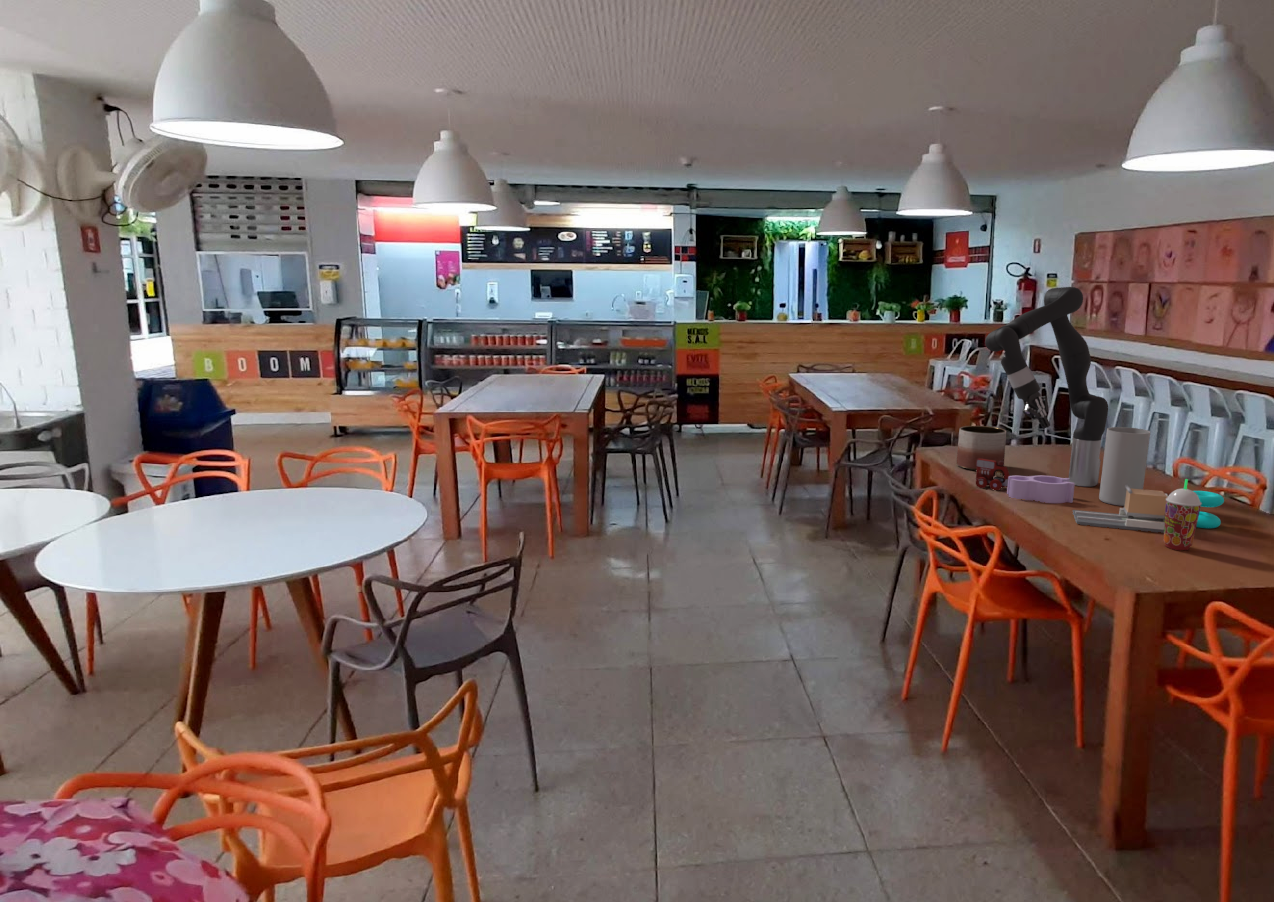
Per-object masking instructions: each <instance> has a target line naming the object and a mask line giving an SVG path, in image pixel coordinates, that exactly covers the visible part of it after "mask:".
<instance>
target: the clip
mask: <svg viewBox="0 0 1274 902" xmlns="http://www.w3.org/2000/svg"><path fill="white" fill-rule="evenodd" d="M1069 481H1070V479H1069V477H1065V478H1064V477H1059V476H1058V477H1057V476H1054V475H1041V474H1039V475H1029V476H1028V475H1010V476H1008V487H1006V490H1007V491H1006V495H1007V494H1008V495H1007V496H1008V498H1009V497H1011V498H1016V499H1025V500H1024V501H1033V500H1035V502H1038V501H1040V502H1039V503H1044V502H1045V503H1044V504H1063V503H1071V504H1072V503H1073V501H1074V494H1075V486H1076V485H1075V483H1072V482H1069ZM1011 498H1010V499H1011ZM1016 499H1015V500H1016Z"/></svg>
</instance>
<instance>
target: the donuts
mask: <svg viewBox="0 0 1274 902" xmlns="http://www.w3.org/2000/svg"><path fill="white" fill-rule="evenodd" d="M1192 491H1193V492H1195V493H1196V494H1197V496H1198V497H1199V500H1200V502H1201V503H1202V504H1201V507H1200V508H1202V507H1203V508H1217V507H1220V506H1222V505H1223V504H1224V503H1225V497H1224V496H1223V495H1221V494H1220V493H1219V494H1218V493H1216V492H1212V491H1207V490H1206V491H1205V490H1192ZM1221 523H1222V522H1221V519H1220V517H1218V516H1217V515H1216V514H1213V513H1210V512H1205V511H1200V512H1199V516H1198V521H1197V525H1196V528H1200V529H1215V528H1218V527H1219V526H1221V525H1222V524H1221Z"/></svg>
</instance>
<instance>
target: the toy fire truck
mask: <svg viewBox="0 0 1274 902" xmlns="http://www.w3.org/2000/svg"><path fill="white" fill-rule="evenodd" d="M976 466H977V471H976V472H975V474H976V475H975V485H976V488H979V489H984V488H986V487H988V486H987V485H989V488H990V489H991V490H992V489H994V490H997V491H1000V490H1001V489H1002V488H1001V487H1004V488H1007V487H1008V476H1011V474H1010V472H1009V470H1008V467H1007V466H1005V461H1004V462H1003V461H999V462H998V463H997V461H993V460H986V459H980V458H979V459H977V461H976ZM998 469H999V470H998ZM996 470H997V471H996ZM994 490H993V491H994Z"/></svg>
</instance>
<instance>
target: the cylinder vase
mask: <svg viewBox="0 0 1274 902" xmlns="http://www.w3.org/2000/svg"><path fill="white" fill-rule="evenodd" d="M1105 434H1106V435H1105V444H1104V452H1103V460H1102V461H1103V462H1102V469H1101V476H1100V477H1101V478H1100V479H1101V480H1100V485H1099V495H1098V498H1099V501H1101V502H1102V503H1105V504H1109V505H1113V506H1119V507H1124V506H1125V498H1126V490H1127V489H1126V488H1125V485H1128V486H1129V487H1130V488H1131V489H1143V490H1144V485H1145V479H1146V478H1145V477H1146V468H1147V462H1148V461H1147V460H1148V454H1149V453H1148V452H1149V446H1150V439H1151V438H1150V437H1151V431H1150V430H1147V429H1144V428H1138V427H1125V426H1112V427H1107V428H1106V433H1105Z"/></svg>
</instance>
